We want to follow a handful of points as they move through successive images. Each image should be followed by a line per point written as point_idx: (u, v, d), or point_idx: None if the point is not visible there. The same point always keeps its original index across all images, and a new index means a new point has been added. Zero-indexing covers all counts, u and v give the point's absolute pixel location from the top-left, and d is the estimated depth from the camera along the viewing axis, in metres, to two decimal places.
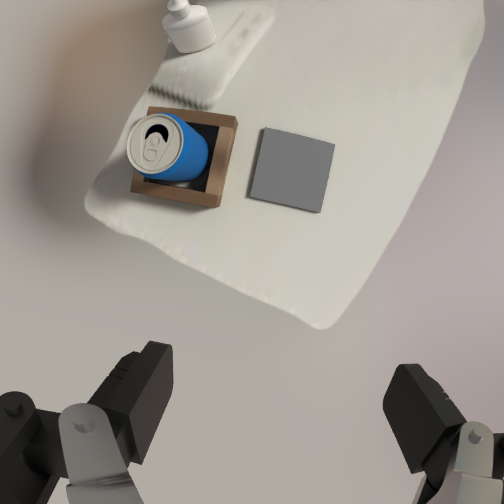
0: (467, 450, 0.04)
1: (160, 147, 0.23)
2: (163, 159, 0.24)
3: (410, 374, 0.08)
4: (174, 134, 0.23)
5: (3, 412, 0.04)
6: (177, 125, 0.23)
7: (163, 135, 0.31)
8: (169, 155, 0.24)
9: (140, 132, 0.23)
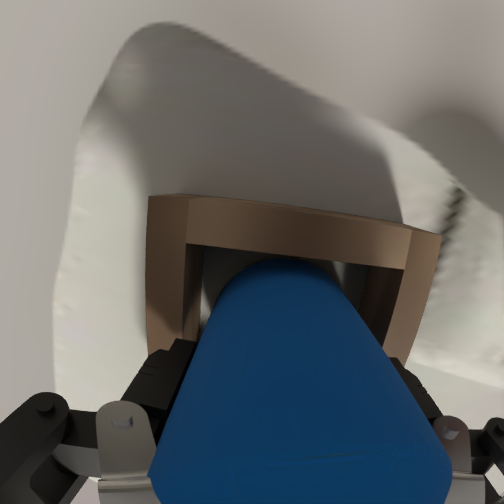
0: None
1: None
2: None
3: None
4: None
5: (34, 412, 0.04)
6: None
7: (347, 300, 0.10)
8: None
9: None
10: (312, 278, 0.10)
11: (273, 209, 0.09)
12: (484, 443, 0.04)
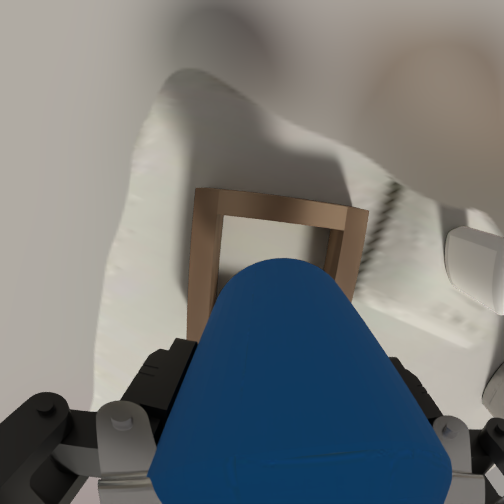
0: None
1: None
2: None
3: None
4: None
5: (34, 413, 0.04)
6: None
7: (347, 299, 0.10)
8: None
9: None
10: (312, 278, 0.10)
11: (265, 195, 0.17)
12: (484, 443, 0.04)
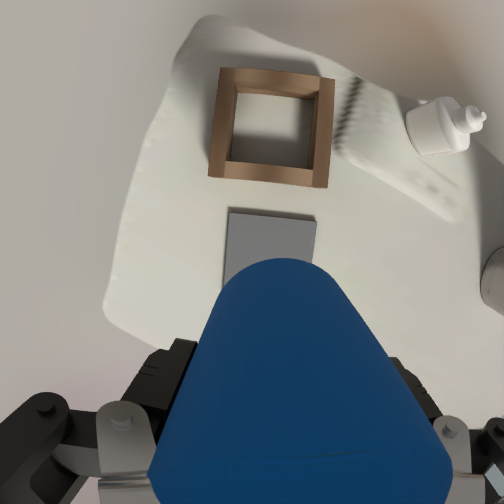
0: None
1: None
2: None
3: None
4: None
5: (34, 412, 0.04)
6: None
7: (347, 299, 0.10)
8: None
9: None
10: (312, 277, 0.10)
11: (265, 70, 0.23)
12: (484, 443, 0.04)
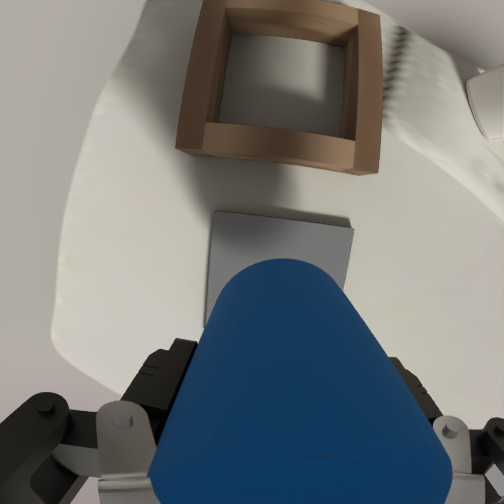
0: None
1: None
2: None
3: None
4: None
5: (34, 412, 0.04)
6: None
7: (347, 300, 0.10)
8: None
9: None
10: (312, 278, 0.10)
11: None
12: (484, 443, 0.04)
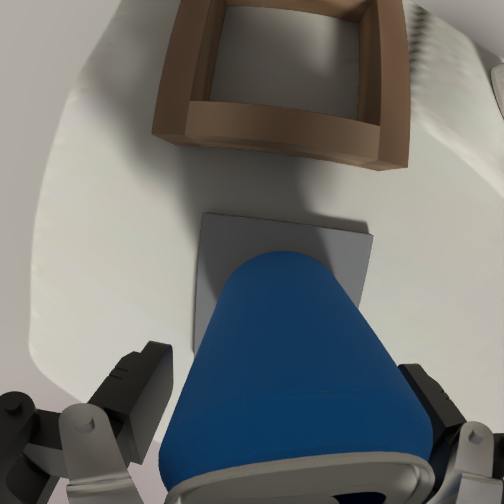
0: (467, 450, 0.04)
1: None
2: None
3: (410, 374, 0.08)
4: None
5: (3, 412, 0.04)
6: None
7: (341, 287, 0.11)
8: None
9: (374, 479, 0.03)
10: (309, 267, 0.11)
11: None
12: None
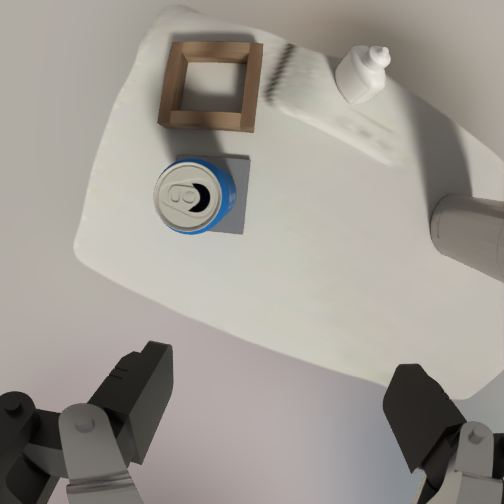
0: (467, 450, 0.04)
1: (183, 205, 0.22)
2: (170, 210, 0.22)
3: (410, 374, 0.08)
4: (198, 219, 0.23)
5: (3, 412, 0.04)
6: (207, 222, 0.23)
7: (225, 172, 0.30)
8: (174, 217, 0.23)
9: (200, 176, 0.22)
10: None
11: (206, 41, 0.27)
12: None
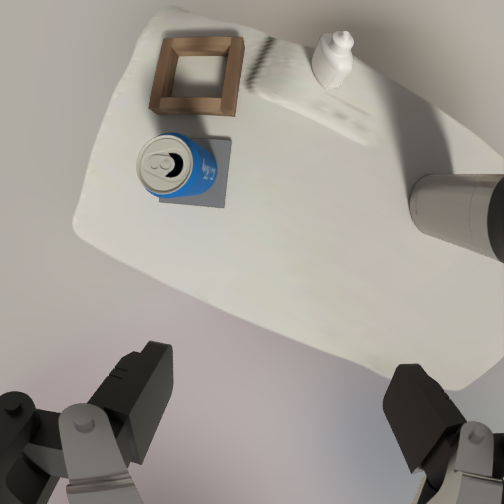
0: (467, 450, 0.04)
1: (160, 171, 0.25)
2: (149, 176, 0.25)
3: (410, 374, 0.08)
4: (172, 183, 0.25)
5: (3, 412, 0.04)
6: (180, 185, 0.25)
7: (205, 149, 0.32)
8: (153, 182, 0.25)
9: (175, 146, 0.24)
10: None
11: (193, 37, 0.29)
12: None
